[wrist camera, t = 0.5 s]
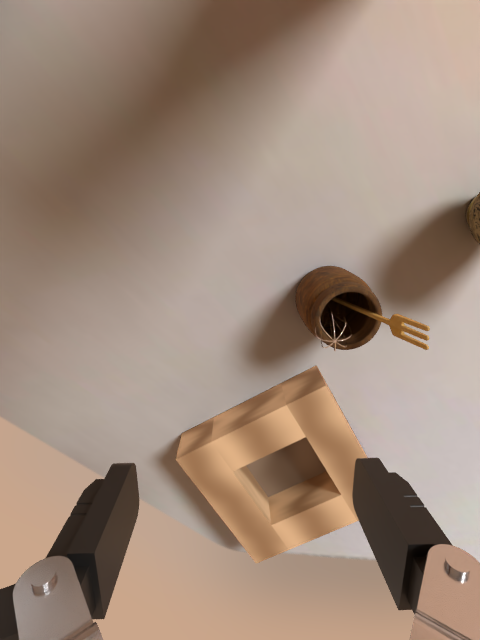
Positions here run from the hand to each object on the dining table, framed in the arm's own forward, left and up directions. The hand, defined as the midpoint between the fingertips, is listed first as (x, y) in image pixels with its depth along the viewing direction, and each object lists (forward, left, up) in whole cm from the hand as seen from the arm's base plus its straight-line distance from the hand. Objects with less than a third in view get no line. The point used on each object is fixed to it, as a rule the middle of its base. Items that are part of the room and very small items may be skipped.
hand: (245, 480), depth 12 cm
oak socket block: (+4, +17, -21) cm, 27 cm away
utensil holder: (-8, +3, -21) cm, 23 cm away
